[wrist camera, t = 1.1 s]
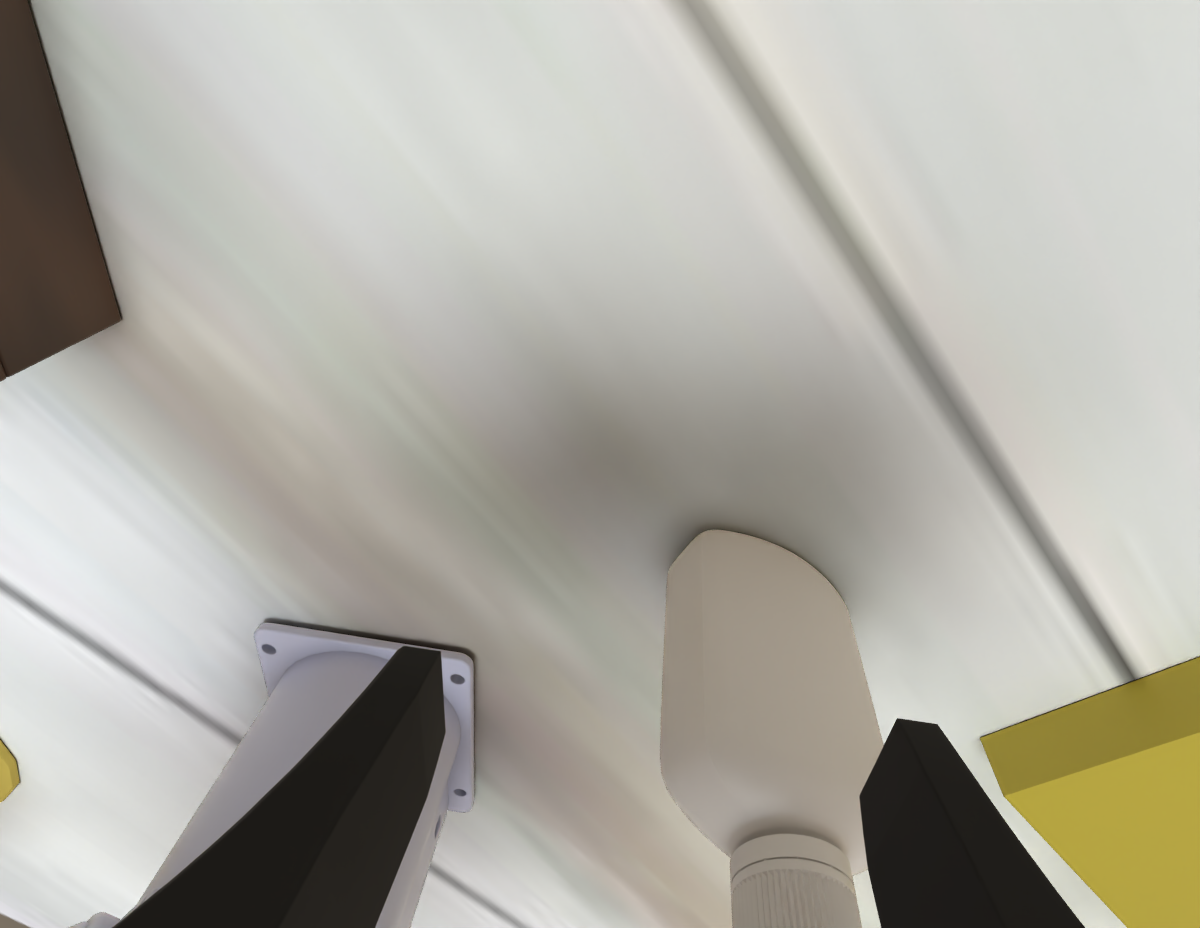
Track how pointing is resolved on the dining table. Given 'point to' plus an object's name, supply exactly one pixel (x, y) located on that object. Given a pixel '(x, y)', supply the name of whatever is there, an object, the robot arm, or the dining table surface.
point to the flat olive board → (1117, 792)
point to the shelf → (41, 213)
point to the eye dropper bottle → (768, 727)
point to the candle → (7, 772)
